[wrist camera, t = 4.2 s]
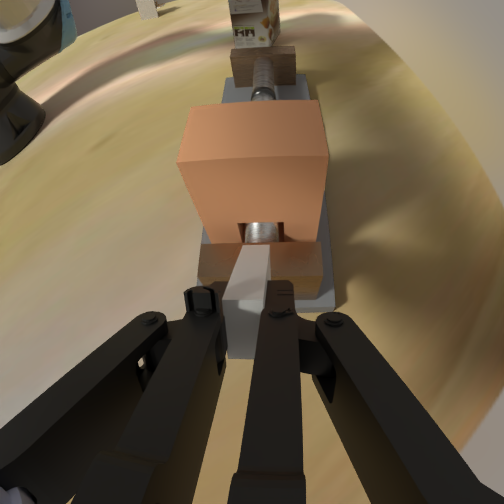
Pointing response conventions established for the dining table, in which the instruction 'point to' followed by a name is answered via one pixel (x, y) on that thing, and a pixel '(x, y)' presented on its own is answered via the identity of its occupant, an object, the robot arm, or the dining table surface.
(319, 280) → the pipe rig
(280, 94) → the base board
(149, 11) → the architectural model
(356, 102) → the dining table surface
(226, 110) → the block
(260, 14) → the coffee box
